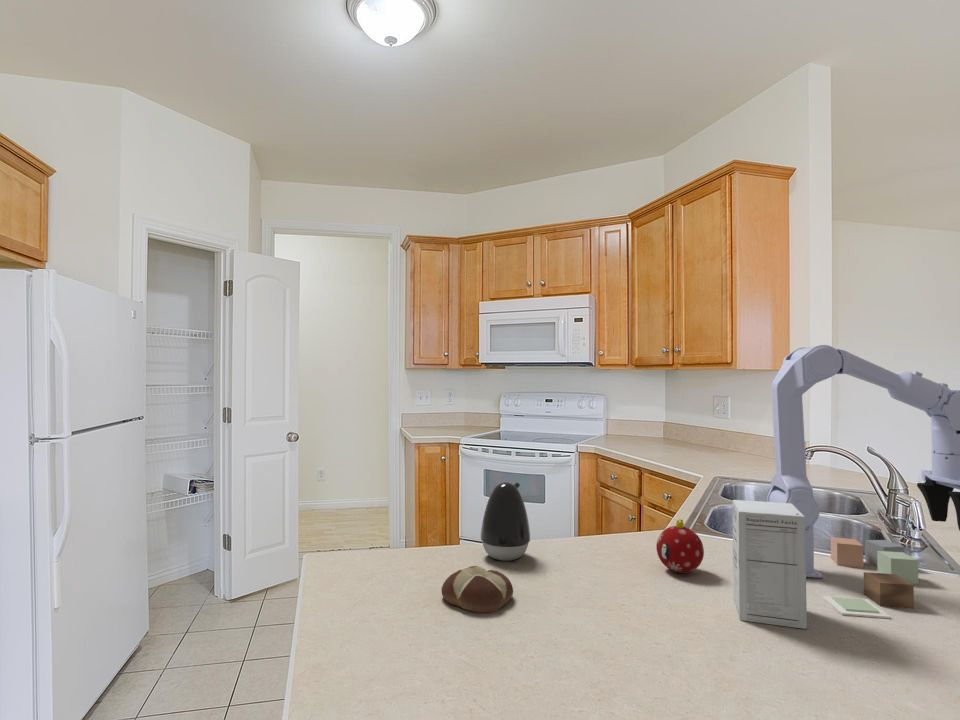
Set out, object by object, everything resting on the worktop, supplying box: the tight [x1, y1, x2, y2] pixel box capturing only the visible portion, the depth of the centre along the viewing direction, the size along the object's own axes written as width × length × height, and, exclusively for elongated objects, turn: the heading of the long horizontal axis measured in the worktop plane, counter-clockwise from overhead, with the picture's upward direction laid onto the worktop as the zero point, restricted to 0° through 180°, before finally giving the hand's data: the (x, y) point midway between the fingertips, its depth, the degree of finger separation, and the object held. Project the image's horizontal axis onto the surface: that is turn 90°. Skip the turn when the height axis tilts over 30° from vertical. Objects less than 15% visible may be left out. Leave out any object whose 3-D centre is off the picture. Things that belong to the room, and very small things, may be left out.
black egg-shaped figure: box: [480, 482, 531, 562], centre depth 112 cm, size 10×10×15 cm
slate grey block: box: [864, 539, 905, 567], centre depth 110 cm, size 4×4×4 cm
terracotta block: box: [830, 536, 864, 569], centre depth 111 cm, size 4×4×4 cm
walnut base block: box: [863, 571, 915, 610], centre depth 92 cm, size 5×5×4 cm
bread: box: [440, 565, 514, 614], centre depth 91 cm, size 11×11×5 cm
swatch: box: [820, 595, 892, 620], centre depth 89 cm, size 7×7×1 cm
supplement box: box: [731, 499, 808, 630], centre depth 87 cm, size 10×9×17 cm
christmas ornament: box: [656, 518, 705, 574], centre depth 105 cm, size 9×9×10 cm
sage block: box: [877, 551, 919, 585], centre depth 102 cm, size 4×4×4 cm
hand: (952, 526), depth 102 cm, fingers open, 7 cm apart
